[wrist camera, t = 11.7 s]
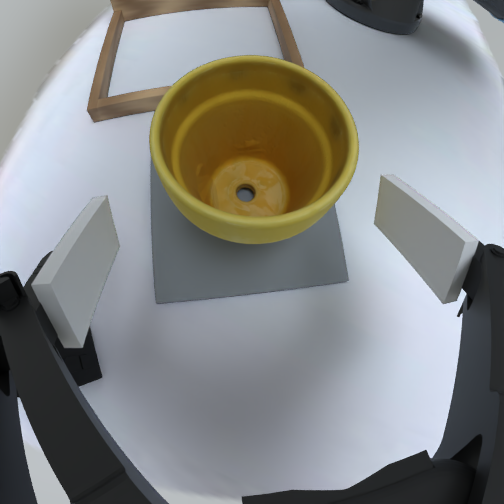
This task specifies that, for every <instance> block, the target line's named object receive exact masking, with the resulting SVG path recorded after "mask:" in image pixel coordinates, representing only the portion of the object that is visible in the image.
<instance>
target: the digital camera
mask: <svg viewBox="0 0 504 504" xmlns="http://www.w3.org/2000/svg"><path fill="white" fill-rule="evenodd" d="M84 342H85V343H84V345H83V348H64V346H63V345H62V343H61V341H60V339H59V338H58V336H57V339H56V341H55V344H54V345H55V347H56V348H57V350H58V352H59V354H60V356H61V357H62V359H63V361H64V363H65V365H66V367H67V368H68V370H69V372H70V374H71V375H72V377H73V379H74V381H75V382H76V384H77V386H78V387H79V386H82V385H84V384H87V383H90V382H92V381H95V380H97V379H100V378H102V374H101V371H100V367H99V363H98V359H97V355H96V351H95V347H94V343H93V339H92V335H91V330H90V326H89V329H88V332H87V335H86V338H85V341H84ZM16 390H17V388H16ZM17 397H20V396H19V393H18V391H17Z"/></svg>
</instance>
